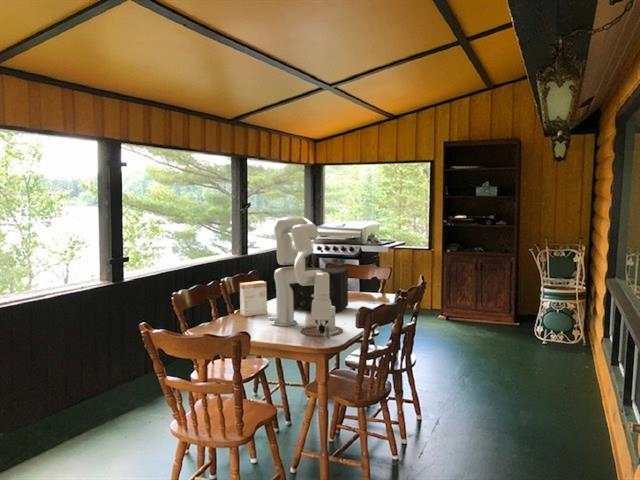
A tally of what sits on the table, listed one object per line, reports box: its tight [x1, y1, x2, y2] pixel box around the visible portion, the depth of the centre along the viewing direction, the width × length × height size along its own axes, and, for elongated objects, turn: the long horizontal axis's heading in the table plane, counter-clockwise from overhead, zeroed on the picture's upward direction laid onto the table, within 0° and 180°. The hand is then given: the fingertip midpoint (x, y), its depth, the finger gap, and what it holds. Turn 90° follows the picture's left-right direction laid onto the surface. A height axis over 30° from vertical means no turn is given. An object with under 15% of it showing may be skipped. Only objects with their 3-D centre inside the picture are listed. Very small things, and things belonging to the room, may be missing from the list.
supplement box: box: [316, 306, 336, 333], centre depth 287 cm, size 7×7×13 cm
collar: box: [299, 324, 344, 339], centre depth 282 cm, size 22×26×5 cm
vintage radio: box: [289, 266, 349, 314], centre depth 340 cm, size 38×20×25 cm, turn 71°
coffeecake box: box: [239, 280, 268, 317], centre depth 328 cm, size 15×7×20 cm, turn 118°
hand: (321, 332), depth 272 cm, fingers closed
